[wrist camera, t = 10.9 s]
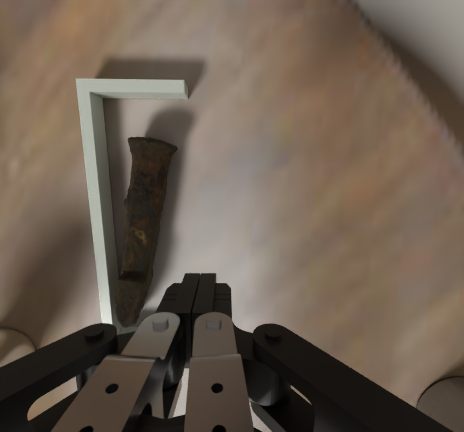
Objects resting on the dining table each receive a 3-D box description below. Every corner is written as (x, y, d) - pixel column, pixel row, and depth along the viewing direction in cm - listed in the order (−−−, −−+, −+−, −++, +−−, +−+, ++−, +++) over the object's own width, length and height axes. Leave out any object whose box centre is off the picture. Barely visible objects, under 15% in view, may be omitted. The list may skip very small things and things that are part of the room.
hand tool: (139, 135, 26) (121, 130, 21) (180, 145, 26) (170, 142, 22) (112, 306, 30) (92, 333, 25) (148, 313, 30) (134, 341, 25)
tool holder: (187, 87, 25) (184, 80, 22) (194, 333, 30) (191, 348, 28) (90, 86, 25) (75, 78, 22) (114, 334, 30) (105, 350, 28)
